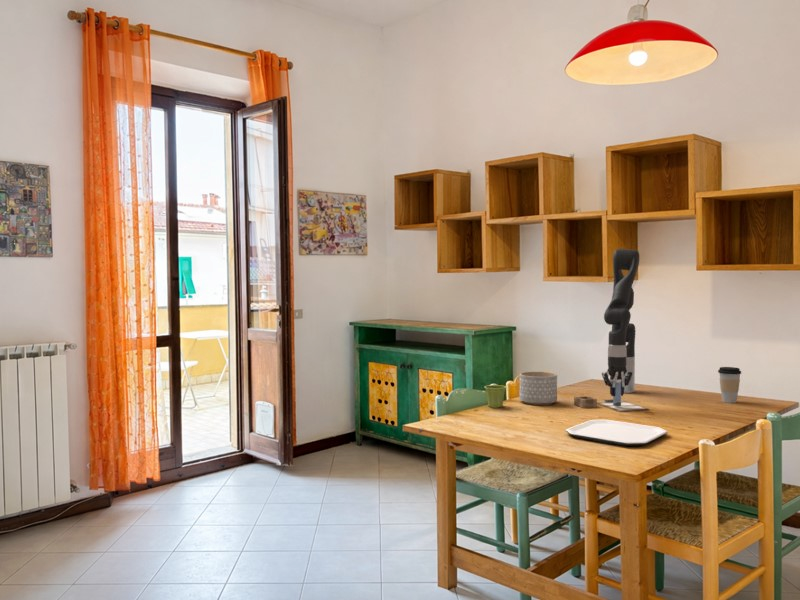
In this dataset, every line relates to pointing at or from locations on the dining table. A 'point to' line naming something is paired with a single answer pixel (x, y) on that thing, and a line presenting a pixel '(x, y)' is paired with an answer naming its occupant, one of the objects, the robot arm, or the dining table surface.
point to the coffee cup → (729, 383)
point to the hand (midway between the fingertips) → (616, 395)
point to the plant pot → (495, 395)
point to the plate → (616, 432)
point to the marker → (617, 393)
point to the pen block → (585, 401)
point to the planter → (538, 388)
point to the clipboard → (622, 406)
